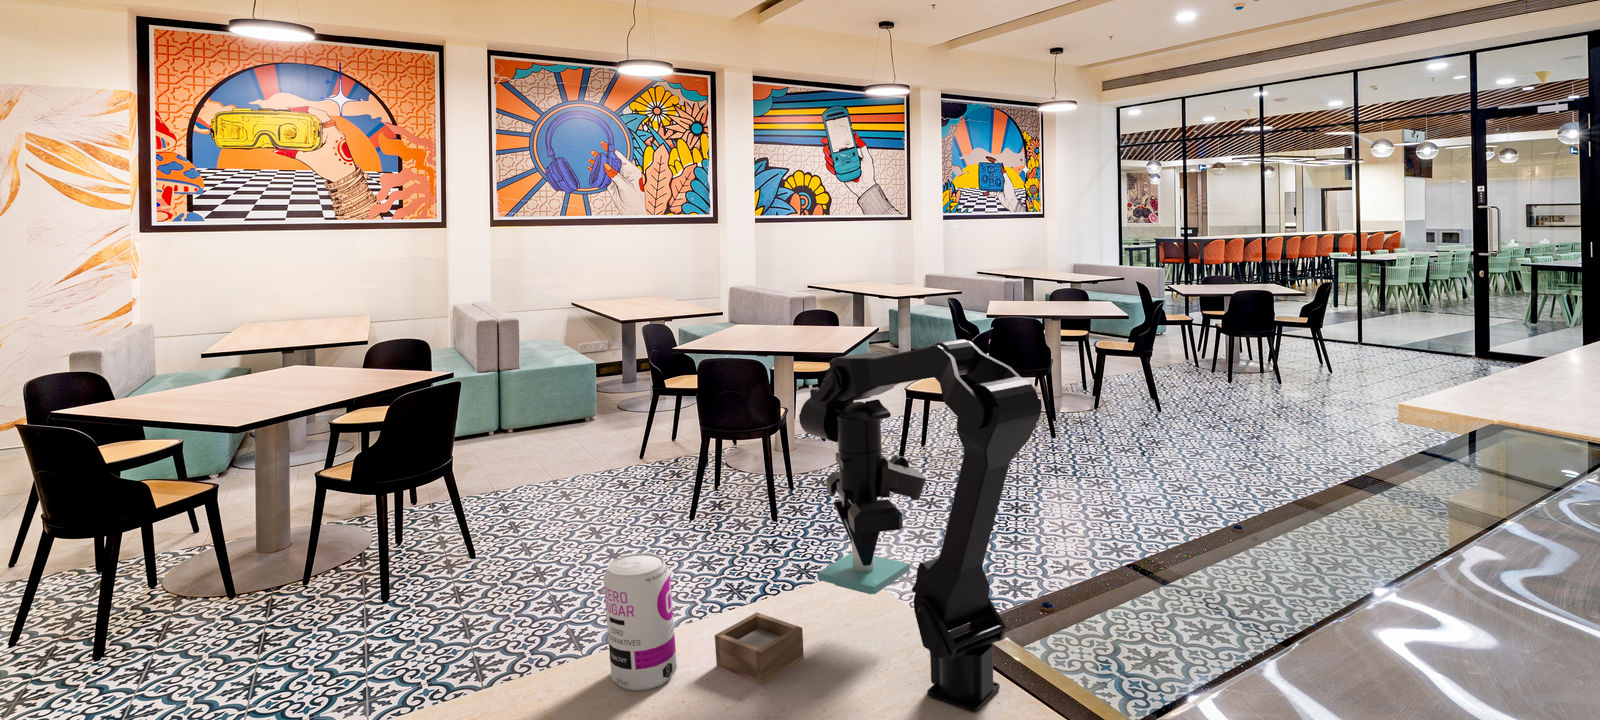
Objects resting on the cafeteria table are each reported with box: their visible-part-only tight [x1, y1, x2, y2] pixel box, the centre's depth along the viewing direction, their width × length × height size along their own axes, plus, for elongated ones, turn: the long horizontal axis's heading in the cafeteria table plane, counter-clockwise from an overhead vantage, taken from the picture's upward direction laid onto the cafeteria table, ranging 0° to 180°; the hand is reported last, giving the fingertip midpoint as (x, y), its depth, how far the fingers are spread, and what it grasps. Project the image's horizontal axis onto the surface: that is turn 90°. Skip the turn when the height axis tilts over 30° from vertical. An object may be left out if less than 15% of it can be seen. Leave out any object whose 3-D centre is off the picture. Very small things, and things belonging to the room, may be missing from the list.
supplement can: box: [603, 552, 678, 691], centre depth 108 cm, size 8×8×15 cm
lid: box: [816, 540, 911, 595], centre depth 116 cm, size 9×9×6 cm
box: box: [714, 612, 805, 686], centre depth 111 cm, size 8×8×4 cm
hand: (863, 560), depth 116 cm, fingers closed on lid, 3 cm apart
